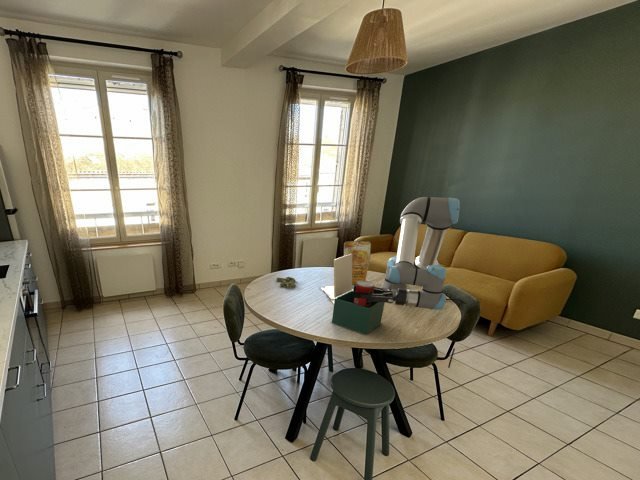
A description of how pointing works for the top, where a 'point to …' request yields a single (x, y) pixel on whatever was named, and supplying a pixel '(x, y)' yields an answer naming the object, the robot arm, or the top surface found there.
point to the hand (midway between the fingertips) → (353, 291)
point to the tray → (331, 292)
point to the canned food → (366, 288)
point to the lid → (342, 275)
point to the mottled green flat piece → (289, 285)
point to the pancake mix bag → (358, 258)
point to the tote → (356, 314)
